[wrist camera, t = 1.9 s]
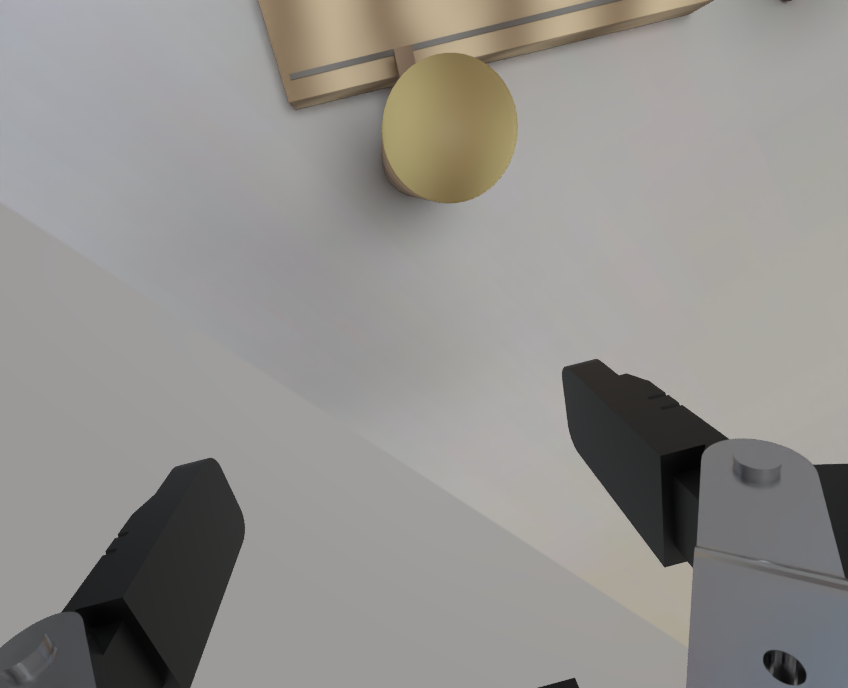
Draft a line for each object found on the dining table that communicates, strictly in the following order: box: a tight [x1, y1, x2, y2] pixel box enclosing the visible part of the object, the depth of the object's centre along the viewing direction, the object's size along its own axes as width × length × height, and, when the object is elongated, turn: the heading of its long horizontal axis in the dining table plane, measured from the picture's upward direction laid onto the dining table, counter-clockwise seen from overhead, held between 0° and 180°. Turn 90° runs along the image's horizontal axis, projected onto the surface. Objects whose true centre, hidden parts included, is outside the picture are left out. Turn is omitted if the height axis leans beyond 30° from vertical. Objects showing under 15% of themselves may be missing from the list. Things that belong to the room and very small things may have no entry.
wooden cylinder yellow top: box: [382, 44, 518, 203], centre depth 23 cm, size 5×8×15 cm, turn 13°
